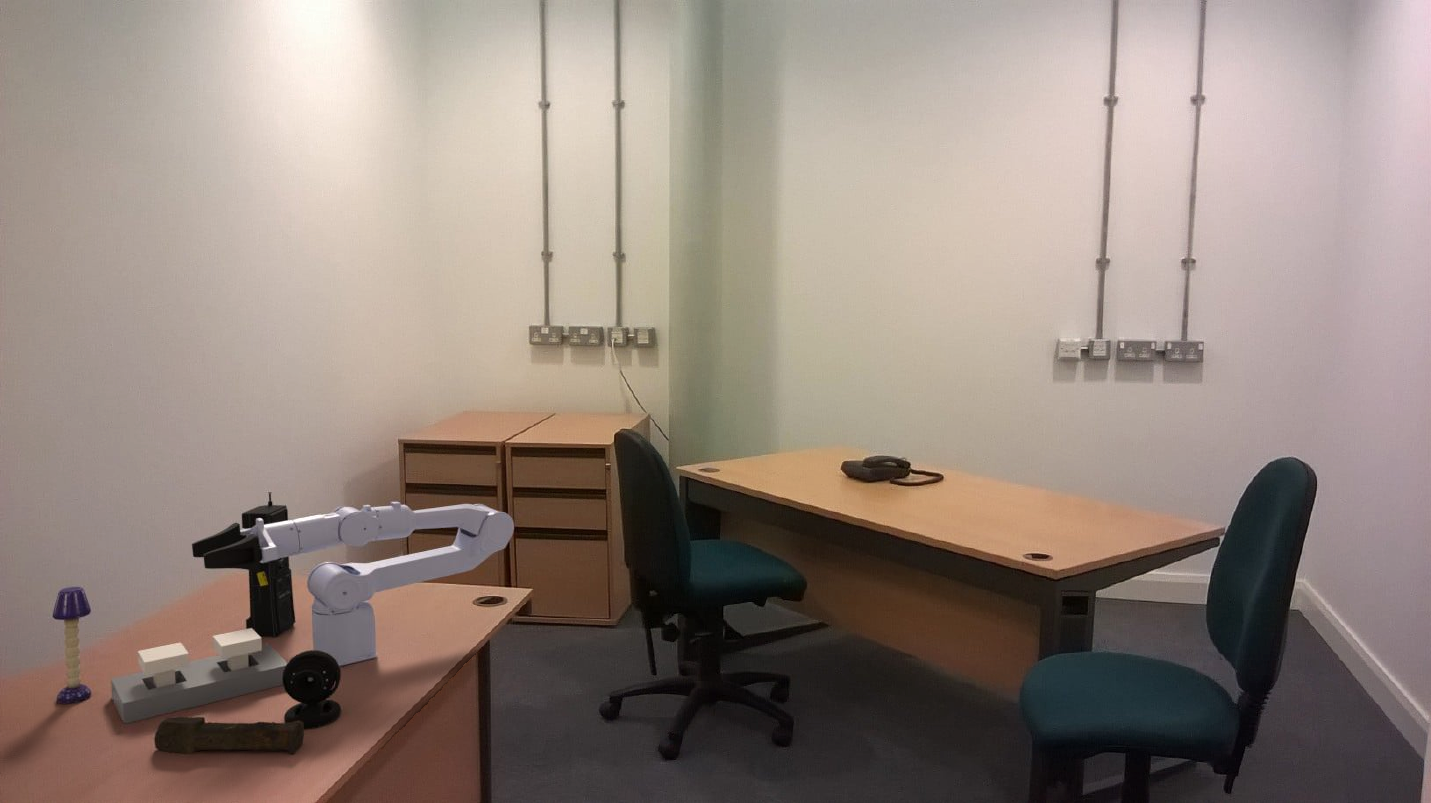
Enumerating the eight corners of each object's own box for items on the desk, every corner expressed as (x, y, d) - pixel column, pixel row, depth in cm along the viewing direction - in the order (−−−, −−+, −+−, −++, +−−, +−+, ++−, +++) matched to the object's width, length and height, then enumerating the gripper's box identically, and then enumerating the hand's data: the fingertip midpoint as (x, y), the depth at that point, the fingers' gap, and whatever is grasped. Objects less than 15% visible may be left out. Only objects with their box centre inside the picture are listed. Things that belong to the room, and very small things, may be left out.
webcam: (276, 731, 125) (274, 662, 124) (291, 708, 132) (288, 642, 131) (336, 727, 127) (334, 659, 126) (346, 704, 134) (345, 640, 133)
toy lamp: (63, 692, 136) (56, 585, 134) (99, 688, 138) (93, 582, 136) (52, 705, 132) (45, 595, 130) (90, 701, 133) (83, 592, 132)
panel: (269, 661, 149) (269, 644, 149) (289, 683, 141) (289, 664, 141) (111, 697, 135) (110, 678, 135) (124, 723, 127) (122, 703, 126)
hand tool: (307, 743, 123) (306, 711, 122) (293, 758, 119) (292, 724, 118) (168, 742, 122) (166, 709, 122) (150, 756, 118) (148, 722, 118)
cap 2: (252, 656, 145) (251, 627, 144) (262, 667, 141) (261, 637, 140) (213, 665, 141) (212, 635, 141) (222, 676, 137) (221, 646, 137)
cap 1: (181, 672, 138) (180, 642, 138) (189, 684, 134) (188, 653, 134) (139, 681, 135) (137, 650, 134) (146, 694, 130) (144, 662, 130)
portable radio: (276, 640, 159) (271, 501, 156) (242, 639, 159) (237, 500, 156) (297, 624, 167) (293, 492, 164) (265, 623, 167) (260, 491, 164)
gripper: (278, 505, 150) (185, 521, 141) (305, 521, 139) (207, 540, 130) (281, 546, 151) (190, 564, 142) (309, 565, 140) (212, 586, 131)
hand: (198, 555), depth 136 cm, fingers open, 7 cm apart
